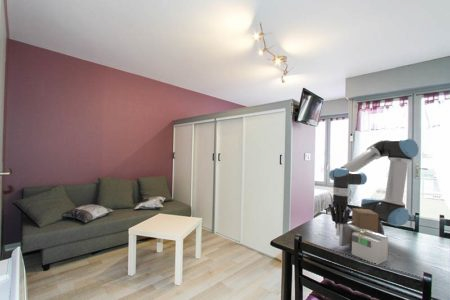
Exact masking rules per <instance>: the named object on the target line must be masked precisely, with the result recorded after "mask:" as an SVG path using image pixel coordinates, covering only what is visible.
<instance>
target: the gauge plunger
mask: <svg viewBox="0 0 450 300" xmlns="http://www.w3.org/2000/svg"><path fill="white" fill-rule="evenodd" d="M354 230H357V231H360V232H359V240H358V243H359V244H360V237H361V234H364V233H366V234H369V235H372V236H375V237H378V238H381V239H384V240H386V239H388V240H389V237H388V235H385V234H384V235H382V234H379V233H376V232H373V231H369V230H366V229H363V228H360V227H357V226H355V222H354V221H352V220H351V221H347V222H346V223H342V224H340V236H339V242H338V243H339V245H338V246H339V247H342V248H343V247H346V246H348V245H352V233H354Z"/></svg>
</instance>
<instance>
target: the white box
mask: <svg viewBox="0 0 450 300" xmlns="http://www.w3.org/2000/svg"><path fill="white" fill-rule="evenodd" d="M359 232H360V231H358V232H354V233H352V244H351V255H353V256H356V257H357V258H361V259H363V260H365V261H368V262H369V263H372V262H373V263H372V264H374V263H376V264H378V265H380V264H382V263H385V262H386V261H388V248H389V247H388V246H389V238H388V239H386V240H384V239H381V238H378V237H375V236H372V235H369V234H366V233H364V234H361V237H360V244H359V243H358V240H359ZM376 264H375V265H376Z"/></svg>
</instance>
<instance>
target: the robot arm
mask: <svg viewBox="0 0 450 300" xmlns="http://www.w3.org/2000/svg"><path fill="white" fill-rule="evenodd" d="M419 152H420V151H419V145H418V143H417V142H416V140H415V139H412V138H405V137H401V138H387V139H382V140H378V141H377V142H375V143H373V144H372V145H370V146H369V147H367V148H366V150H365V151H363V152H362V153H361V154H359V155H358V156H355V158H353V159H351V160H350V161H348V162H346V163H345V164H344V165H342V166H340V167H336V168H334V169H331V170H330V171H329V174H328V176H329V178H330V180H331V181H333V188H332V189H333V190H332V192H333V193H332V203H330V204H328V207H329V210H330V216H331V221H332V222H334V224H335V225H334V226H335V227H334V228H335V229H336V234H335V235H336V236H339V237H340V224H342V223H346V222H349V218H350V214H351V213H352V209H353V208H350V207H349V205H348V202H349V201H348V195H349V186H350V185H355V186H357V185H358V186H362V185H365V184H366V183H367V180H368V178H367V177H368V176H367V175H366V173H364V172H362V171H359V170H361V169H363V168H364V167H366V166H367V165H369V164H370V163H372V162H373V161H374V160H378V159H380V158H384V157H387V159H388V160H389V161H390V163H389V169H388V170H389V171H388V176H387V182H386V188H385V195H384V198H383V199H379V198H362V199H361V204H360V209H367V210H371V211H373V212H375V213H377V214H378V233H379V234H382V235H385V230H384V227H383V224H382V222H383V223H385V224H389V225H391V226H395V227H402V226H404V225H405V224H406V223H408V222H409V220H410V219H409V218H410V212H409V210H408V209H407V208H406V204H405V202H403V200H404V193H405V185H406V179H407V174H408V173H407V172H408V167H409V166H408V165H409V163H411V162H412V160H413V158H416V157H417V156H418V154H419Z"/></svg>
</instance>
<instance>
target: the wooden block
mask: <svg viewBox="0 0 450 300" xmlns="http://www.w3.org/2000/svg"><path fill="white" fill-rule="evenodd" d="M351 209H352V211H351V221H354V222H355V226H357V227H360V228H363V229H366V230H369V231H373V232H376V233H378V214H377V213H375V212H373V211H371V210H367V209H361V208H356V207H355V208H354V207H353V208H351ZM354 232H358V231H357V230H354Z"/></svg>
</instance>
